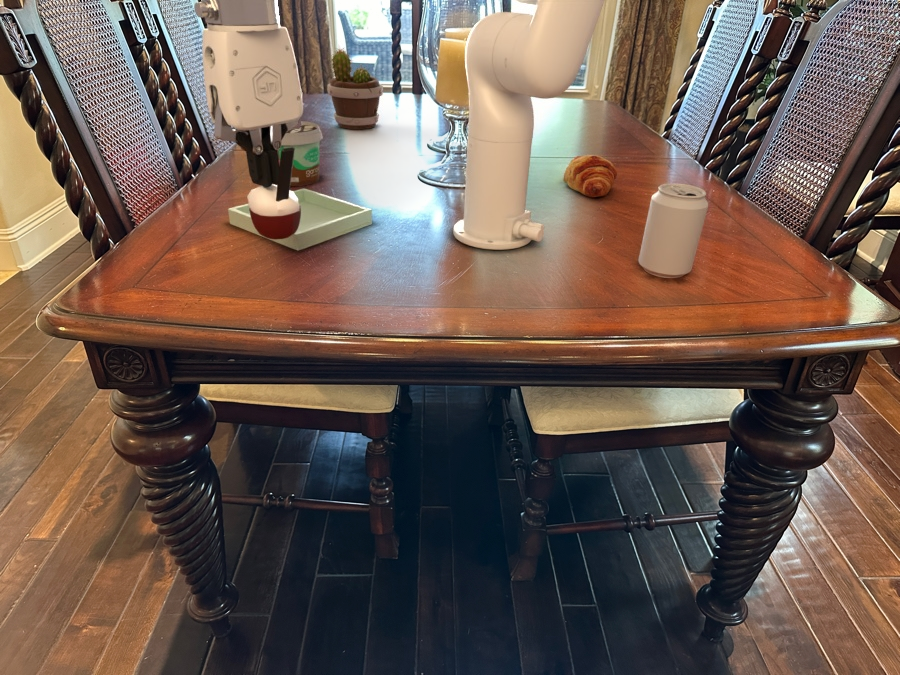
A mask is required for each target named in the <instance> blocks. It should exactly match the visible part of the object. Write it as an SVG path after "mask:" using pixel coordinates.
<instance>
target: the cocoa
mask: <svg viewBox="0 0 900 675" xmlns="http://www.w3.org/2000/svg"><path fill="white" fill-rule="evenodd" d="M294 152H295V149H294V148H293V147H291V148H284V149H282V150H281V157H280V158H279V176H278V184H277V185H275V184H272V185H271V186H270V187H264V186H261V185H259V186H257V187H256V188H252V189H250V191H249V193H248V194H247V196H246V198H247V204H249V206H250V208H249V210H250V216H251V219H252V222H253V224H254V227H255V229H256V230H257V231H258V232H259V234H260V235H262V236H264V237H263V238H265V237H266V238H265V239H267V238H269V239H268V240H270V239H275V240H276V239H285V238H288V237H290V236H291V235H293V234H294V233H295V232H296V231H297V230H298V227H299V223H300V218H301V206H300V205H299V203H298V198H297V197H296V195H295V194H294V192H293V191H294V190H291V186H290V184H291V176H292V168H293V160H294ZM260 235H259V236H260ZM262 236H261V237H262Z"/></svg>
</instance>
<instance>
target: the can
mask: <svg viewBox="0 0 900 675" xmlns="http://www.w3.org/2000/svg"><path fill="white" fill-rule="evenodd" d="M706 196H707V192H706V190H704V189H703V188H701V187H698V186H695V185H691V184H686V183H677V182H671V183H670V182H669V183H662V184H660V185H658V191H656V192H655V193H654V194H652V195H651V197H650V203H649V206H648V207H649V208H648V213H647V217H646V221H645V226H644V231H643V237H642V241H641V246H640V251H639V256H638V264H639V265H640V266H641V267H642V268H643V271H645V272H646V273H647V274H650V275H652V276H655V277H659V278H664V279H678V278H683V277H684V276H685V275H687V274H689V273H691V272H692V270H693V267H694V262H695V259H696V255H697V251H698V246H699V243H700V239H701V235H702V231H703V228H704V224H705V221H706V216H707V212H708V209H709V201H707V198H706Z"/></svg>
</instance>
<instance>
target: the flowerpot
mask: <svg viewBox="0 0 900 675" xmlns="http://www.w3.org/2000/svg"><path fill="white" fill-rule="evenodd" d="M328 60H330V61H329V63H330V64H329V65H328V66H330V70H331V71H332V76H333V77H332V78H331V79H330V82H329V83H328V84H327V86H326V87H327V88H326V90H327V94H328V95H329V96H330V97H331V102H332V105H333V108H334V111H335V112H334V113H333V117H334V121H335V123H337V126H338V127H339V128H341V129H347V130H354V131H355V130H365V129H372V128H375V127H376V124H377V123H378V121H379V117H380V114H379V113H378V111H379V105H380V97H382V96H383V94H384V85H383V84H381V83H380V81H379V80H378V79H377V78H376V77H374V76H371V74H370V71H369V70H370V68H369V69H368V68H366V66H363V65H362V64H359V67H357V68H356V69H355V70H353V66H352V64H353V62H354V60H353V59H352V55H350V53H347V52H346V50H345V47H343V48H341V46H340V45H338V48H337V47H335V51H333V53H332V55H331V57H330V59H328Z"/></svg>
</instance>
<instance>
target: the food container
mask: <svg viewBox="0 0 900 675" xmlns="http://www.w3.org/2000/svg"><path fill="white" fill-rule="evenodd" d="M322 140H323V134H322V130H321V128H320V125H319V124H317V123H314V122H310V121H306V120H305V121H302V120H301V121H300V126H299V127H297V128H292V129H290V130H289V131H287V132H286V134H285V135H284V137H283V139H282V141H281V142H282V146H281V148H280V149H279V150H277V151H278V159H280V157H281V150H282V149H284V148H291V147H293V148H294V149H295V152H294V160H293V168H292V176H291V184H290V187H301V186H308V185H312V184H315V183H317V182H319V180H320V141H322Z"/></svg>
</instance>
